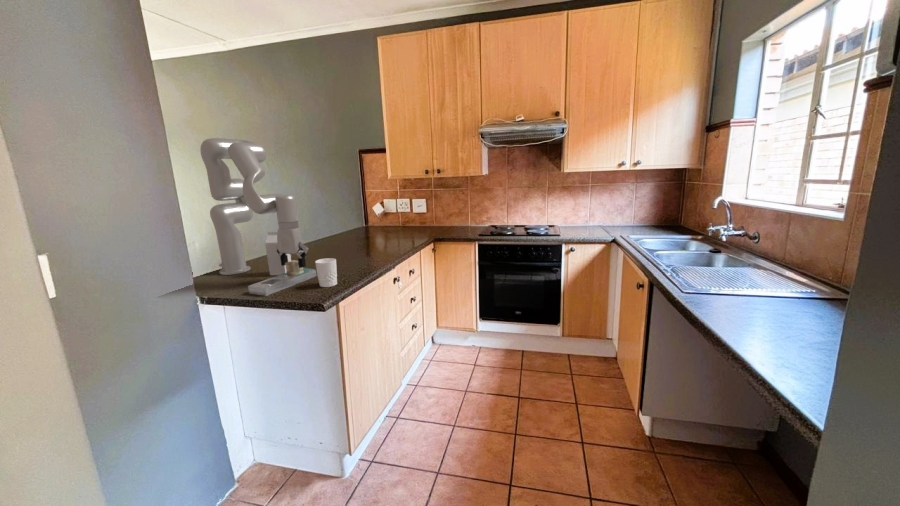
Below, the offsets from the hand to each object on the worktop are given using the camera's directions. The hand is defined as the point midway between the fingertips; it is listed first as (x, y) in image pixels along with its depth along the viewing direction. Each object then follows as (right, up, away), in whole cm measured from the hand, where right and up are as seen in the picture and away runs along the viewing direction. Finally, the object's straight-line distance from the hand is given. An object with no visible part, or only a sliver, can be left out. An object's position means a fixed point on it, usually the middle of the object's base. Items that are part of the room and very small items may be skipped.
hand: (293, 266), depth 152 cm
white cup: (+17, -7, -7) cm, 20 cm away
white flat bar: (-2, -7, -4) cm, 9 cm away
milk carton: (-11, -4, +12) cm, 17 cm away
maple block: (+1, -6, +1) cm, 6 cm away
